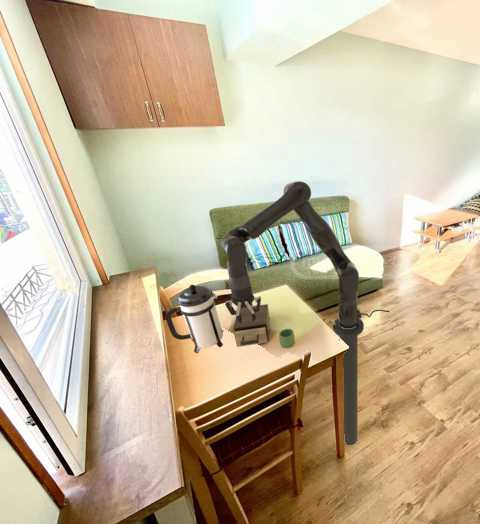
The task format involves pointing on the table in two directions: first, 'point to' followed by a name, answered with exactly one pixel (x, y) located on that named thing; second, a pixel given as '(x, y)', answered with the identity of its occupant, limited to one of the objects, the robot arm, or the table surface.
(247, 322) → the cabinet
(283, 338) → the pot
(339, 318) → the robot arm
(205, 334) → the coffee press
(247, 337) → the drawer
